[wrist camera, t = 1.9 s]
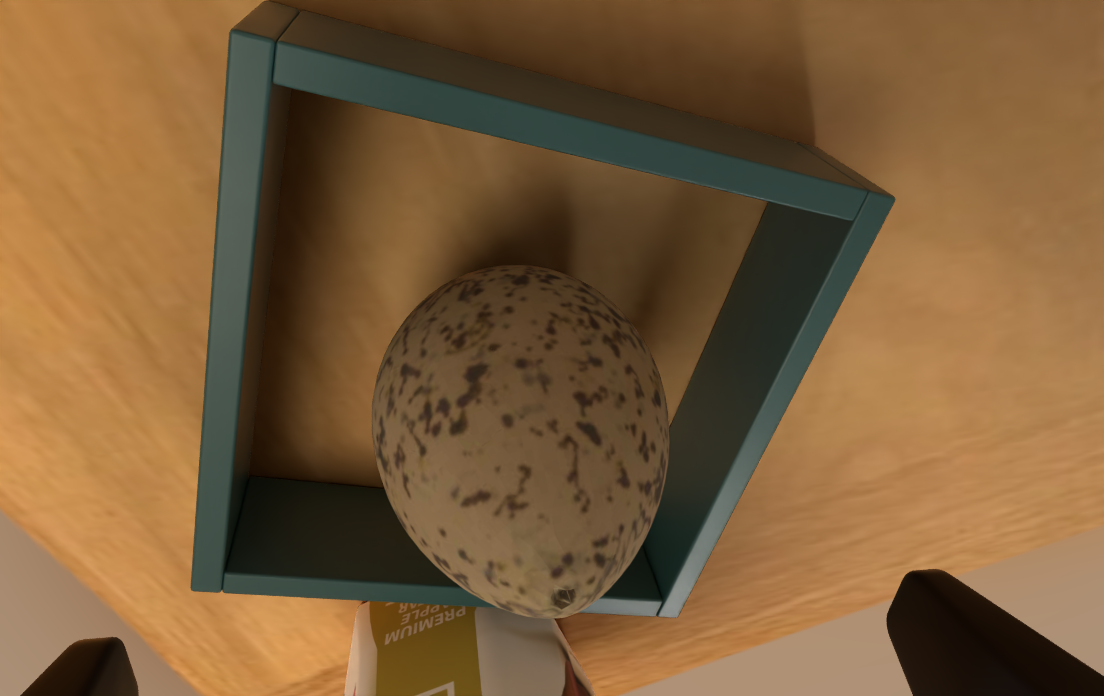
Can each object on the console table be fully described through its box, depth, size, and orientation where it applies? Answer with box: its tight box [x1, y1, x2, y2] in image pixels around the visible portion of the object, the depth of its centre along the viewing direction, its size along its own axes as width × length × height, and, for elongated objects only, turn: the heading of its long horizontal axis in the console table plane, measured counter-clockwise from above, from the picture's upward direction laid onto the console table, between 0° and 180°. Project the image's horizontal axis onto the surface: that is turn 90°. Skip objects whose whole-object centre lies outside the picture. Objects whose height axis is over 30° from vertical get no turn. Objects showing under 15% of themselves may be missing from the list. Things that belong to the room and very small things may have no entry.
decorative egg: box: [372, 265, 669, 619], centre depth 18 cm, size 7×7×10 cm
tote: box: [191, 1, 895, 618], centre depth 21 cm, size 15×15×4 cm
